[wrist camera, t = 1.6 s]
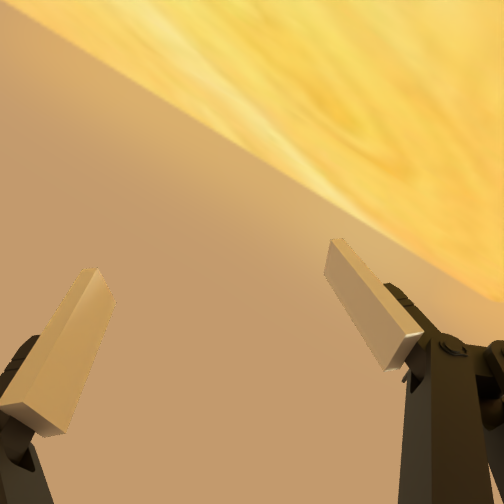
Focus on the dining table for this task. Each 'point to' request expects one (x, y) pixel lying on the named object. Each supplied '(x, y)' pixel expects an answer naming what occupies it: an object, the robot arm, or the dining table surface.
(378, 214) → the dining table surface
